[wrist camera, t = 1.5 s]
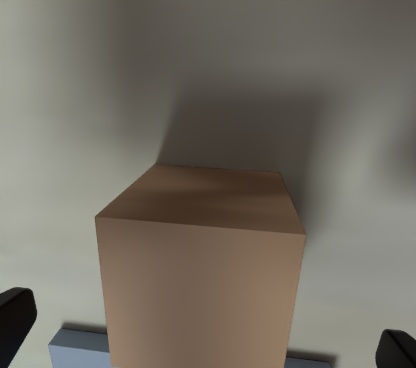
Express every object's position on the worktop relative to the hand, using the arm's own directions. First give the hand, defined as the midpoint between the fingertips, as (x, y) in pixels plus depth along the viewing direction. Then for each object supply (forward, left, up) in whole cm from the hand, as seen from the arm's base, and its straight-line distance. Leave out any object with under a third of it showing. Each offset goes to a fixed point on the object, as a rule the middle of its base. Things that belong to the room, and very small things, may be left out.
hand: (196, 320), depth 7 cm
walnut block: (0, 0, -5) cm, 5 cm away
